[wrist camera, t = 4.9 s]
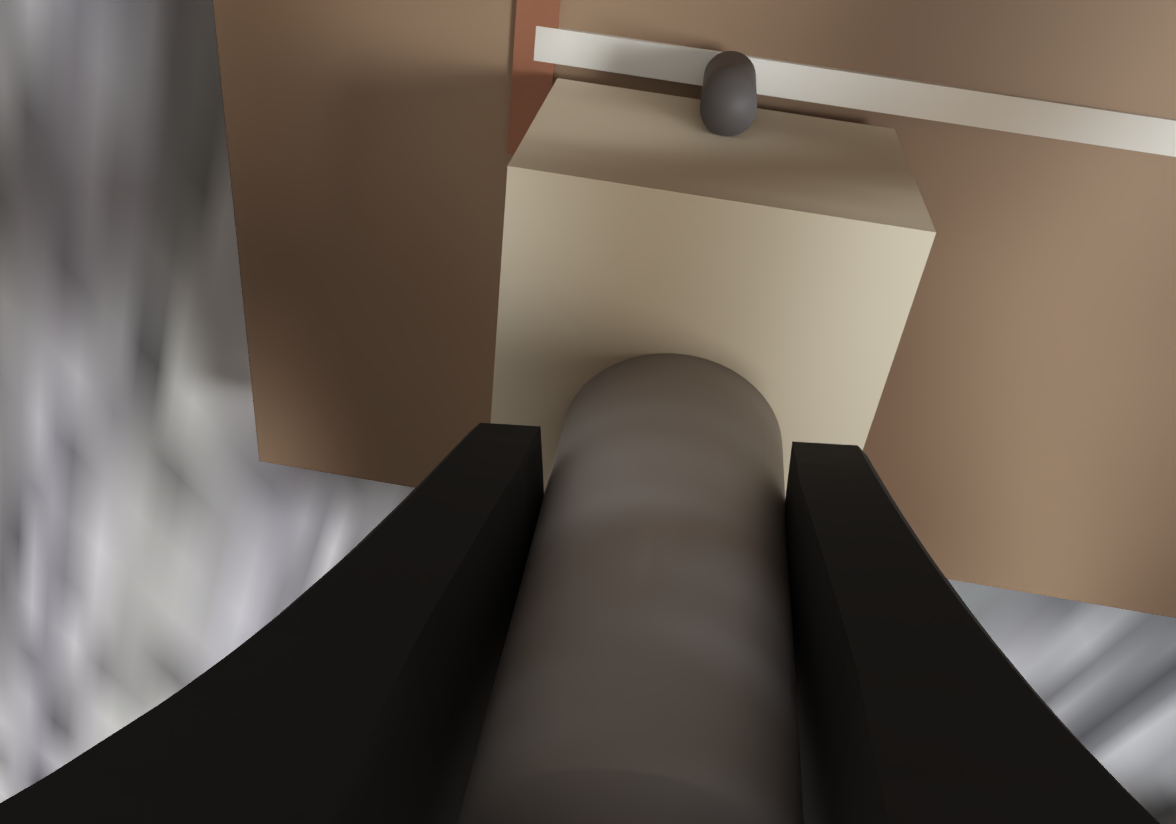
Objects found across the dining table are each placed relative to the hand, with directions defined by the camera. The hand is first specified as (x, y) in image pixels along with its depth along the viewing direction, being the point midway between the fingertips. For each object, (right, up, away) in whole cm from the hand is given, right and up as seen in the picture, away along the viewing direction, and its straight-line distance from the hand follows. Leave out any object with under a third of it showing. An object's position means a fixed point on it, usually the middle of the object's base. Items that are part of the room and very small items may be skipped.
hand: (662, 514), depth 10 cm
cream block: (+1, +2, +5) cm, 6 cm away
